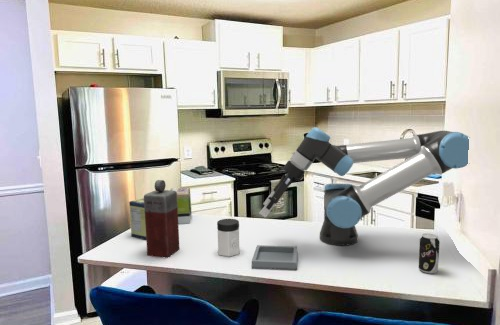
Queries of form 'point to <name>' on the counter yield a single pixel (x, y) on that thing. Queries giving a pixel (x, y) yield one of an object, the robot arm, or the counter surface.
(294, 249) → the tray
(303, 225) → the counter surface
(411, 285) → the counter surface
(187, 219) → the tea box
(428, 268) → the beverage can
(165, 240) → the red square bottle
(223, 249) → the jar
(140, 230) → the protein box
